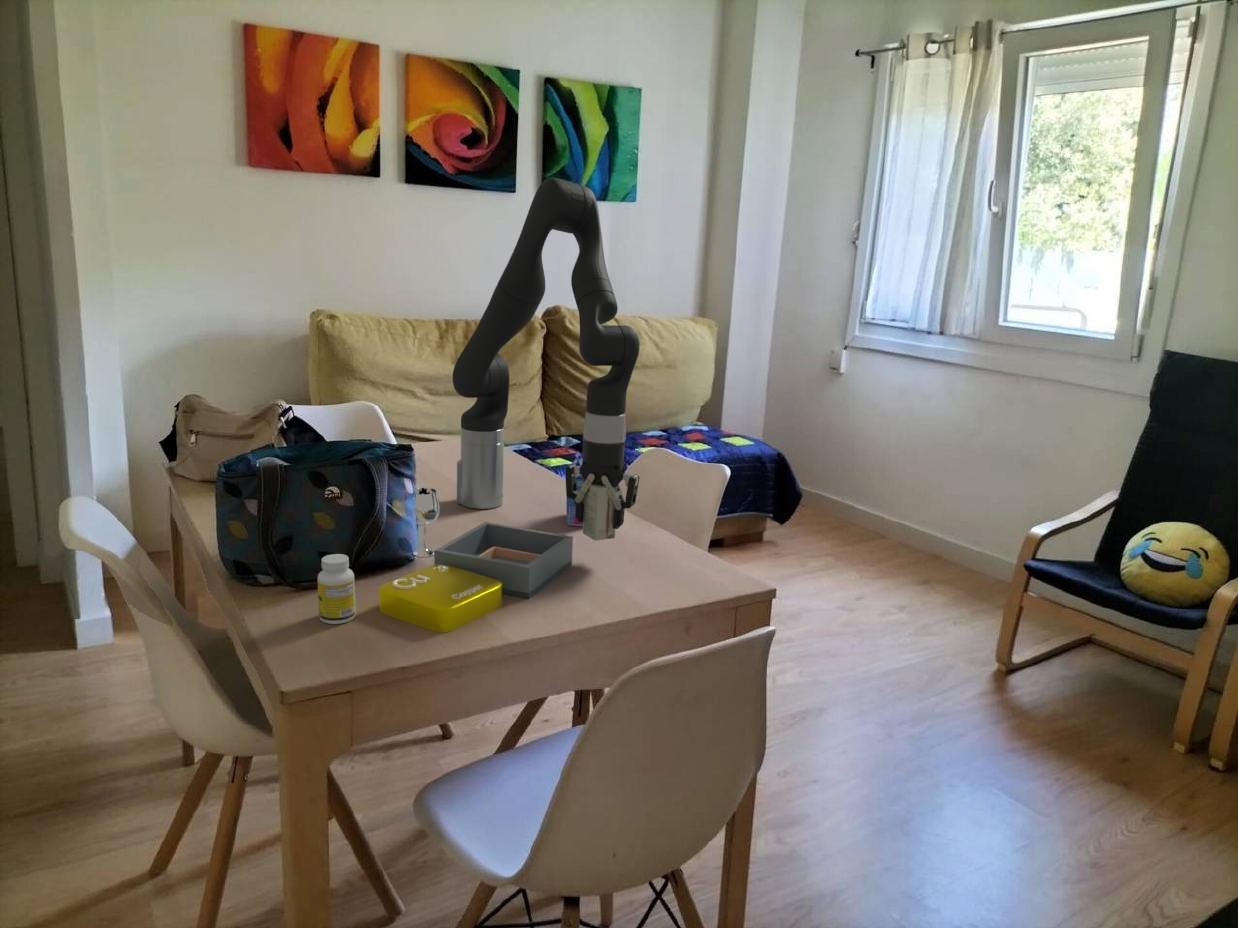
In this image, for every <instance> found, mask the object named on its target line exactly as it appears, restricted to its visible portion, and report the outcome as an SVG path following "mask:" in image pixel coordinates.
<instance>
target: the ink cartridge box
mask: <svg viewBox="0 0 1238 928" xmlns="http://www.w3.org/2000/svg"><path fill="white" fill-rule="evenodd" d="M574 457H575V459H574V461H573V462H572V463H571V464H575V465H576V466H581V465H582V455H581V453H580V452H579V451H576V453H575V454H574ZM584 482H585V480H584V479H583V477H582V475H581V473H580V472H579V476H577V491H578V492H580V489H581V487H582V486H583V484H584ZM575 512H576V502H575V500H573V499H572V498H568V497H567V496H566V526H572V527H573V526H574V527H581V528H583V522H582V523H581V522H578V519H576V517H575Z"/></svg>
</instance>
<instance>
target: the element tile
mask: <svg viewBox="0 0 1238 928" xmlns="http://www.w3.org/2000/svg"><path fill="white" fill-rule="evenodd" d="M502 607H503V594H502V582H500V581H499V580H496V579H493V578H489V577H486V576H483V575H479V574H476V573H473V572H469V571H466V570H463V569H460V568H456V567H453V566H450V565H446V564H442V563H438V564H431V565H429V566H426V567H424V568H421V569H419V570H416V571H414V572H411V573H409V574H405V575H404V576H401V577H399V578H396V579H394V580H390V581H388V582H385V583H383V584H381V585H380V586H379V587H378V608H379V609H378V610H379V612H380V613H381V614H384V615H386V616H389V617H392V618H395V619H398V620H401V621H403V622H407V623H409V624H413V625H415V626H418V627H421V628H422V629H423V628H424V629H427V630H429V631H432V632H435V633H449V632H453V631H456V630H457V629H459V628H461V627H464V626H466V625H468V624H469V623H471V622H474V621H475V620H478V619H480V618H481V617H484V616H487V615H488V614H491V613H492V612H495V611H496V610H498V609H500V608H502Z"/></svg>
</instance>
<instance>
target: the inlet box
mask: <svg viewBox="0 0 1238 928" xmlns="http://www.w3.org/2000/svg"><path fill="white" fill-rule="evenodd" d="M573 538H574V537H573V536H571V535H565V534H559V533H554V532H547V531H543V530H542V531H541V530H535V529H529V528H524V527H517V526H514V525H513V526H511V525H506V524H499V523H494V522H487V521H485V522H482V523H480V524H479V525H477V526H475V527H474V528H472V529H470V530H467V532H464V533H463V534H461V535H459V536H457V537H455V538H454V539H452V540H450V541H448V542H447V543H444V544H443V545H441V546H440V547H437V548H436V549H433V550H434V555H433V556H434V564H438V563H442V564H446V565H450V566H453V567H456V568H460V569H463V570H466V571H469V572H473V573H476V574H479V575H483V576H486V577H489V578H493V579H496V580H499V581H500V582H502V595H505V596H506V595H507V596H512V597H516V598H522V599H526V600H530V599H531V598H532V597H533V596H534V595H535V594H537V593H538V592H540V591H541V590H542V589H544V588H545V587H546V586H547V585H548V584H550V583H551V582H553V580H555V579H556V578H557V577H559V576H560V575H561V574H563V573H564V572H565V571H566V570H567V569H569V568H570V567H571V566H572V565H573V545H574V544H573ZM434 564H433V565H434Z"/></svg>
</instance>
